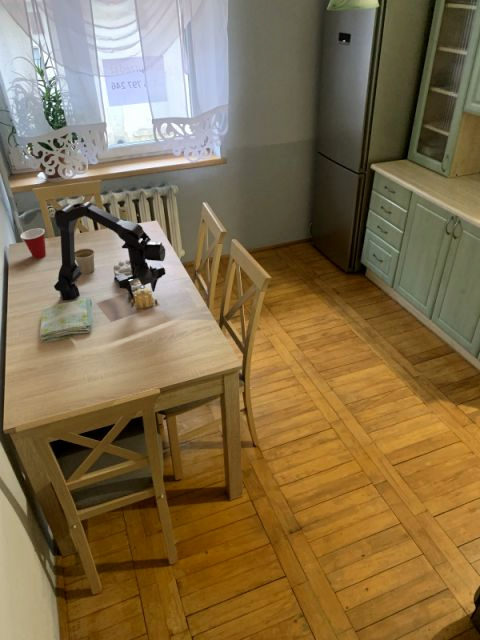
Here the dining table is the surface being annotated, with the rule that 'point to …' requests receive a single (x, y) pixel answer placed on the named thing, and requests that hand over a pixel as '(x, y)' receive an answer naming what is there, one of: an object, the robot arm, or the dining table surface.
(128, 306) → the board
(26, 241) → the plastic cup
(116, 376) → the dining table surface
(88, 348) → the dining table surface
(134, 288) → the gear
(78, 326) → the towel
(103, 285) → the dining table surface
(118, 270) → the grey paw block
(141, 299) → the loose gear
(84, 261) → the flower pot
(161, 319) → the dining table surface
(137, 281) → the small gear
